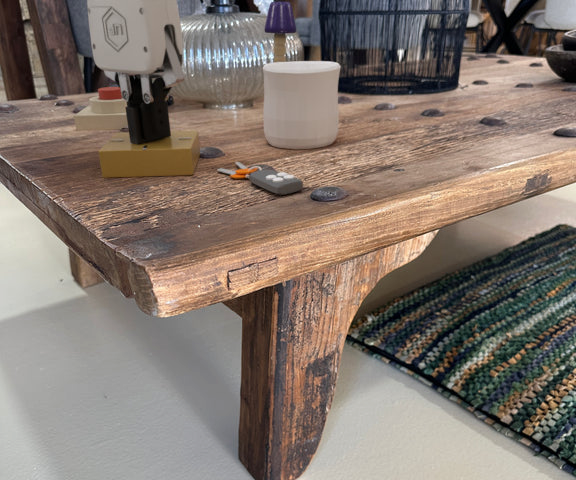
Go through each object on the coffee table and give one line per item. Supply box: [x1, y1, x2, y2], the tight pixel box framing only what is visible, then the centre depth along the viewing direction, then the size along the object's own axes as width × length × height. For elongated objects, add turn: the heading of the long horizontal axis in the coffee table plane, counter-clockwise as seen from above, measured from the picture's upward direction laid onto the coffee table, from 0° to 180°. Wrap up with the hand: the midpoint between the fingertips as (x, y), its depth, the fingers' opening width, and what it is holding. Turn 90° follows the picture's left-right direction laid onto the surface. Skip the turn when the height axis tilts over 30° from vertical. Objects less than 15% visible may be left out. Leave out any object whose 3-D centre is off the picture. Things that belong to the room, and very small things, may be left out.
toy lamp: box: [264, 1, 297, 63], centre depth 85 cm, size 5×5×17 cm
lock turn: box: [125, 100, 172, 145], centre depth 65 cm, size 5×1×4 cm, turn 143°
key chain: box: [216, 161, 304, 196], centre depth 61 cm, size 13×4×2 cm, turn 38°
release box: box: [73, 95, 128, 131], centre depth 88 cm, size 10×8×4 cm
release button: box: [97, 86, 122, 100], centre depth 87 cm, size 4×4×2 cm
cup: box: [262, 60, 342, 150], centre depth 75 cm, size 10×10×10 cm
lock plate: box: [97, 130, 201, 179], centre depth 67 cm, size 10×9×3 cm
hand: (150, 135), depth 66 cm, fingers closed
